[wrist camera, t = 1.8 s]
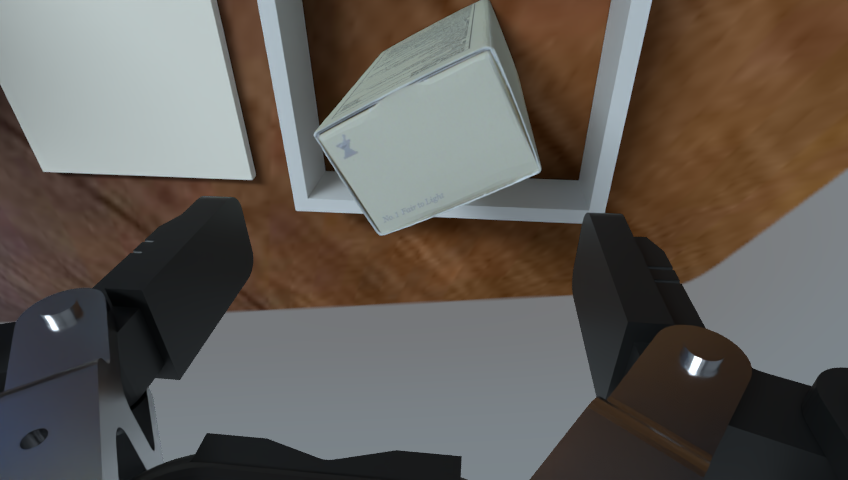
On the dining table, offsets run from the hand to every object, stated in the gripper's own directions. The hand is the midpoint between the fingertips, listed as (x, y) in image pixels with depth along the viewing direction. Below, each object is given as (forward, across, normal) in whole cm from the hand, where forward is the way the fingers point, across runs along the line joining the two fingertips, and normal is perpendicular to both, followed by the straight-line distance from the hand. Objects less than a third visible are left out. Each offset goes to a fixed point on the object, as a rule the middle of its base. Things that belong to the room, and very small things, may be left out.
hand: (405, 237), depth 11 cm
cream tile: (+17, +19, 0) cm, 25 cm away
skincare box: (+17, 0, 0) cm, 17 cm away
